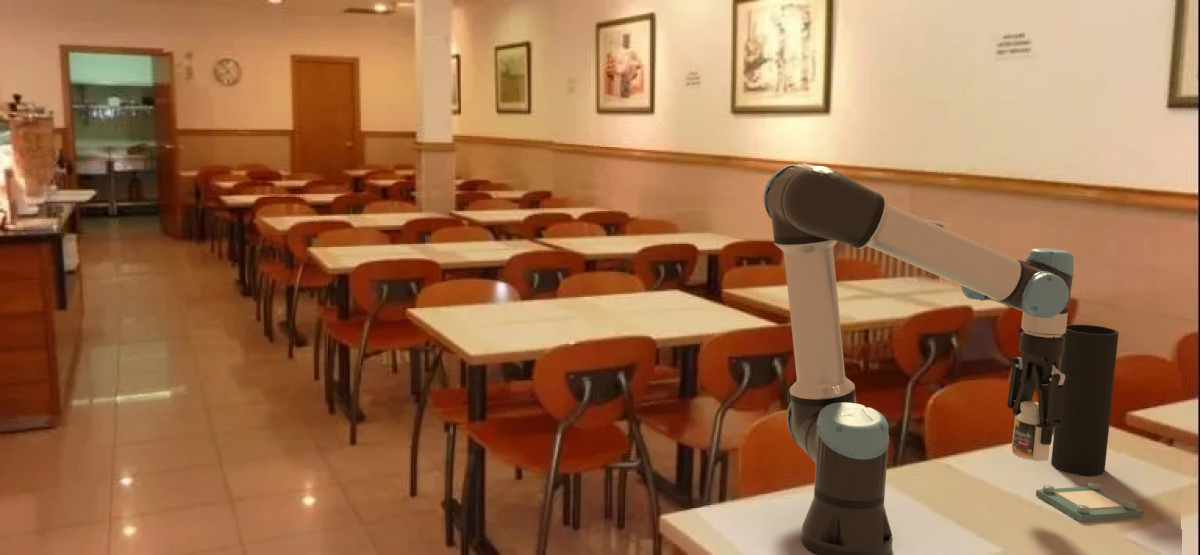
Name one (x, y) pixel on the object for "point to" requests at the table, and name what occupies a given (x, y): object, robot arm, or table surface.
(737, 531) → the table surface
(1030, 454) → the pill bottle
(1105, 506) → the plate
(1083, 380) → the vase
